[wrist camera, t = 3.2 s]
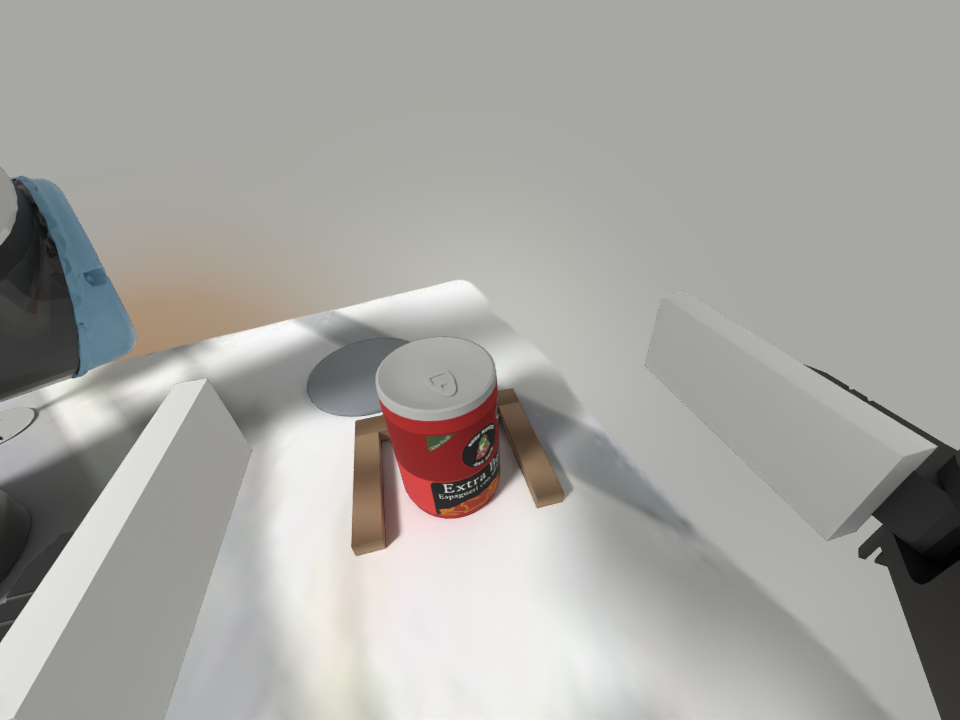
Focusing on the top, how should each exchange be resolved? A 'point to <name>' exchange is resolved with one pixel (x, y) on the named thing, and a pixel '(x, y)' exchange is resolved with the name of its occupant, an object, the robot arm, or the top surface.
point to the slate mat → (351, 378)
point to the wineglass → (14, 422)
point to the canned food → (443, 423)
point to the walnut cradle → (370, 477)
